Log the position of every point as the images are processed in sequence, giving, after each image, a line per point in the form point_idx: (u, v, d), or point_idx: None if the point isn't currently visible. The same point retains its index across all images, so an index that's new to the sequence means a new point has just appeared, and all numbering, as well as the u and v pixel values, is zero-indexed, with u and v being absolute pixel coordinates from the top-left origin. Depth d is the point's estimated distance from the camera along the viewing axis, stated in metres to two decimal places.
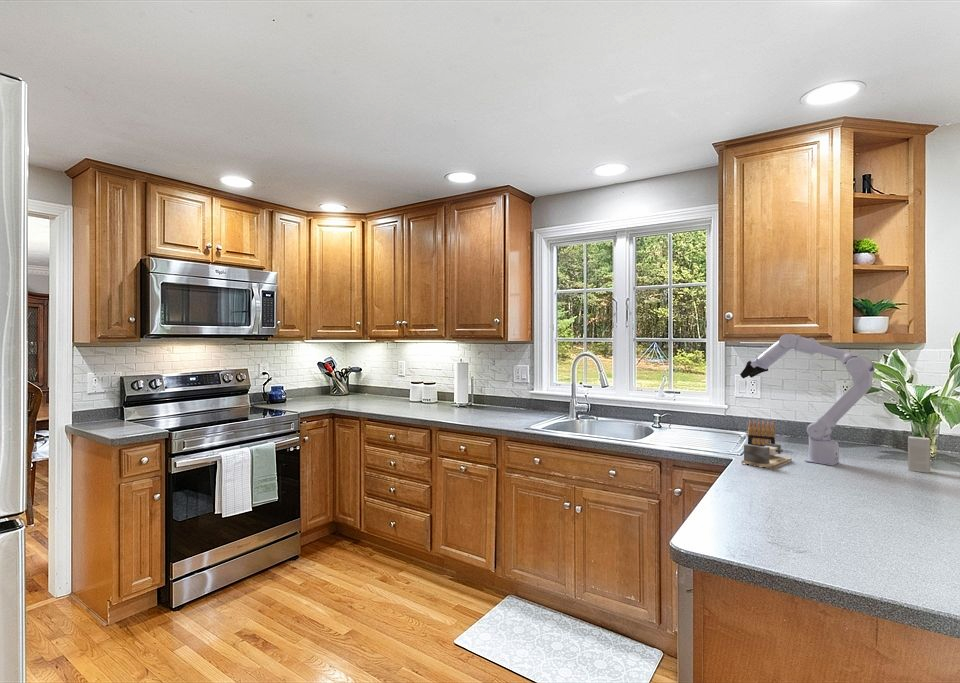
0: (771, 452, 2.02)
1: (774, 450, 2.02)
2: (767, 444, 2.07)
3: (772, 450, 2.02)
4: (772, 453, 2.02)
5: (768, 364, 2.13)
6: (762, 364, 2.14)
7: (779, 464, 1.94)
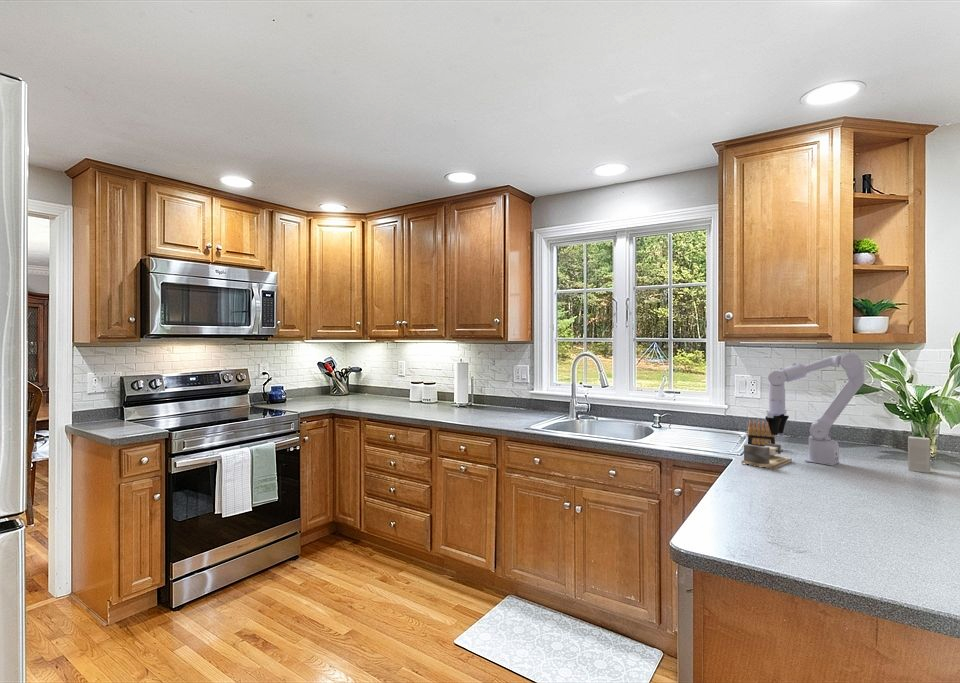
0: (771, 452, 2.02)
1: (774, 450, 2.02)
2: (767, 444, 2.07)
3: (772, 450, 2.02)
4: (772, 453, 2.02)
5: (782, 407, 2.06)
6: (777, 411, 2.07)
7: (779, 464, 1.94)
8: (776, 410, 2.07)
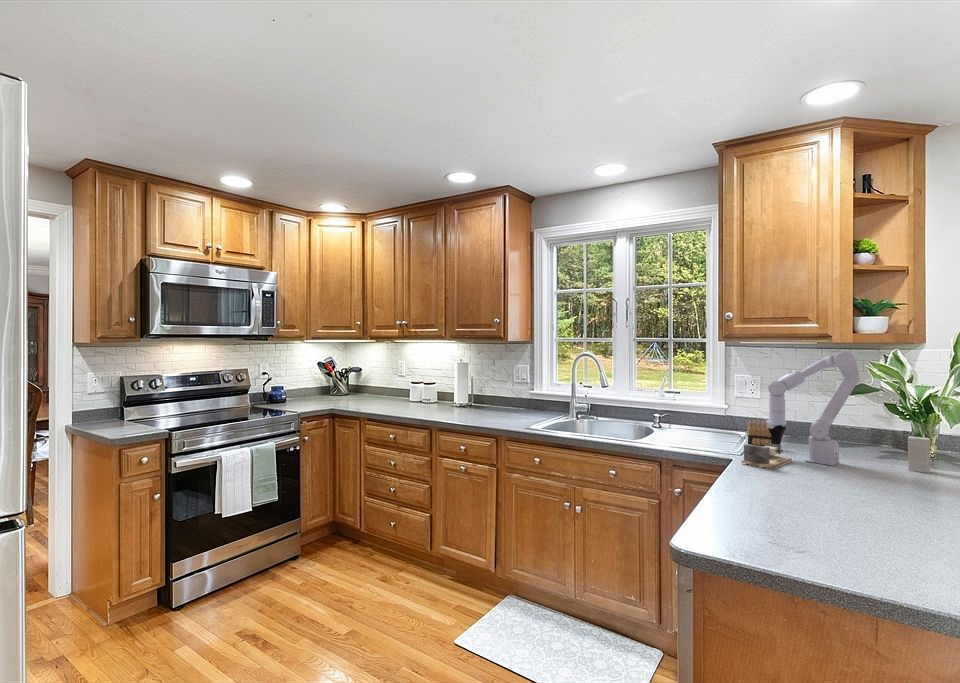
0: (771, 452, 2.02)
1: (774, 450, 2.02)
2: (767, 444, 2.07)
3: (772, 450, 2.02)
4: (772, 453, 2.02)
5: (782, 418, 2.06)
6: (777, 422, 2.07)
7: (779, 464, 1.94)
8: (776, 421, 2.07)
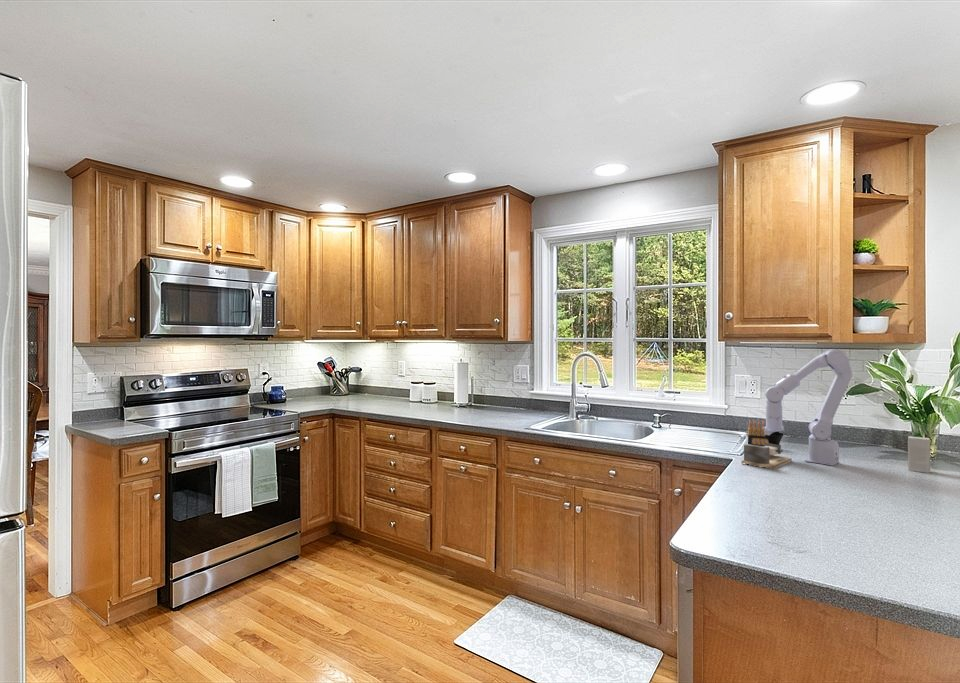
0: (771, 452, 2.02)
1: (774, 450, 2.02)
2: (767, 444, 2.07)
3: (772, 450, 2.02)
4: (772, 453, 2.02)
5: (779, 425, 2.04)
6: (774, 428, 2.05)
7: (779, 464, 1.94)
8: (773, 427, 2.05)
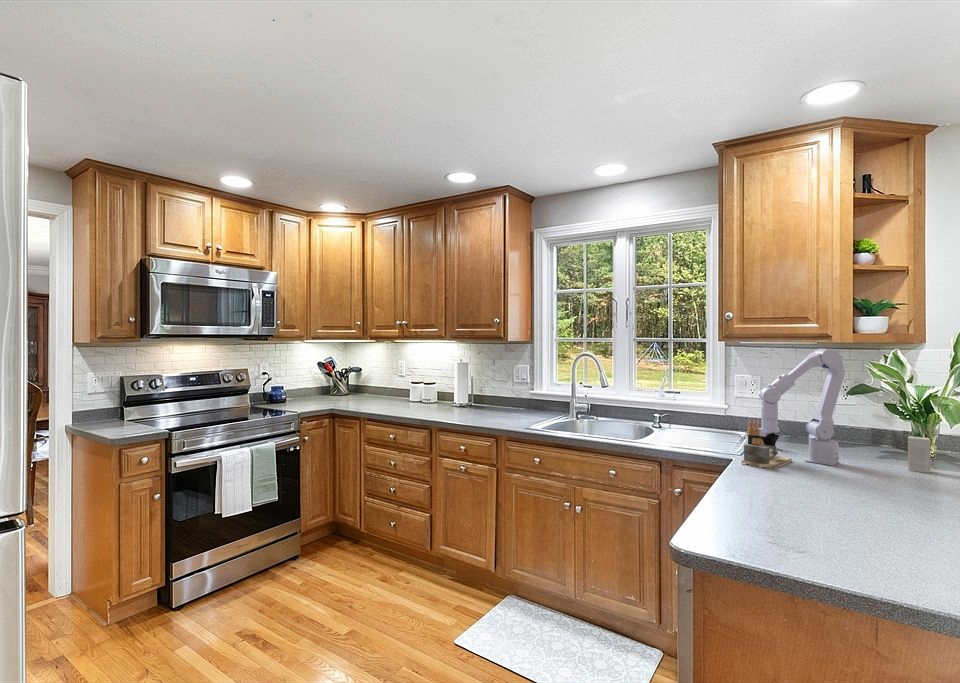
0: None
1: (769, 452, 1.99)
2: None
3: None
4: None
5: (774, 426, 2.01)
6: (770, 429, 2.02)
7: (779, 464, 1.94)
8: (769, 428, 2.02)
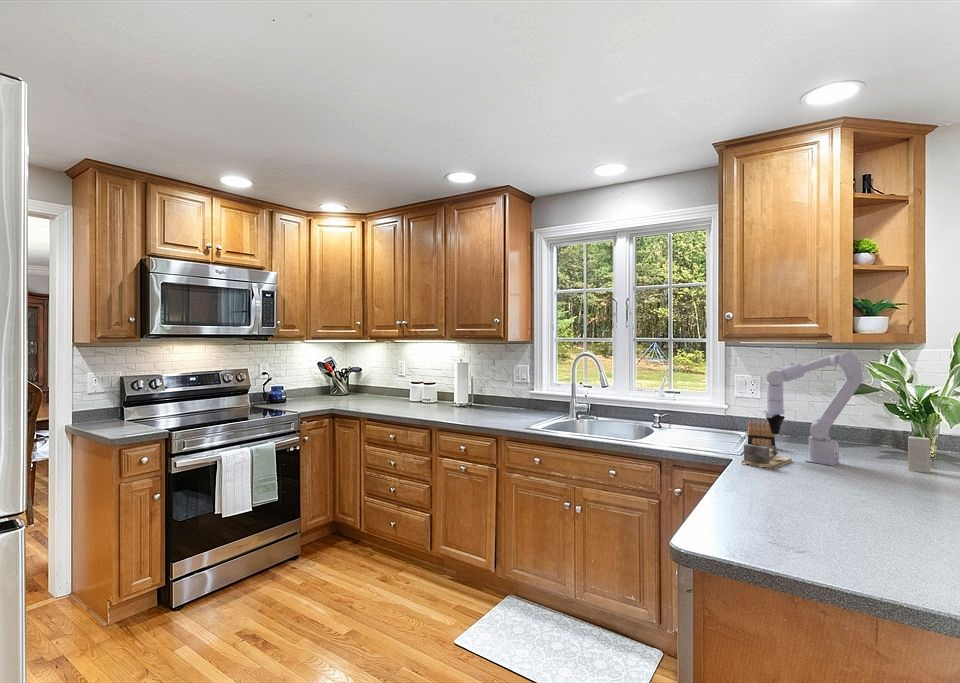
0: None
1: (769, 452, 1.99)
2: None
3: None
4: None
5: (780, 407, 2.06)
6: (775, 411, 2.07)
7: (779, 464, 1.94)
8: (774, 410, 2.07)
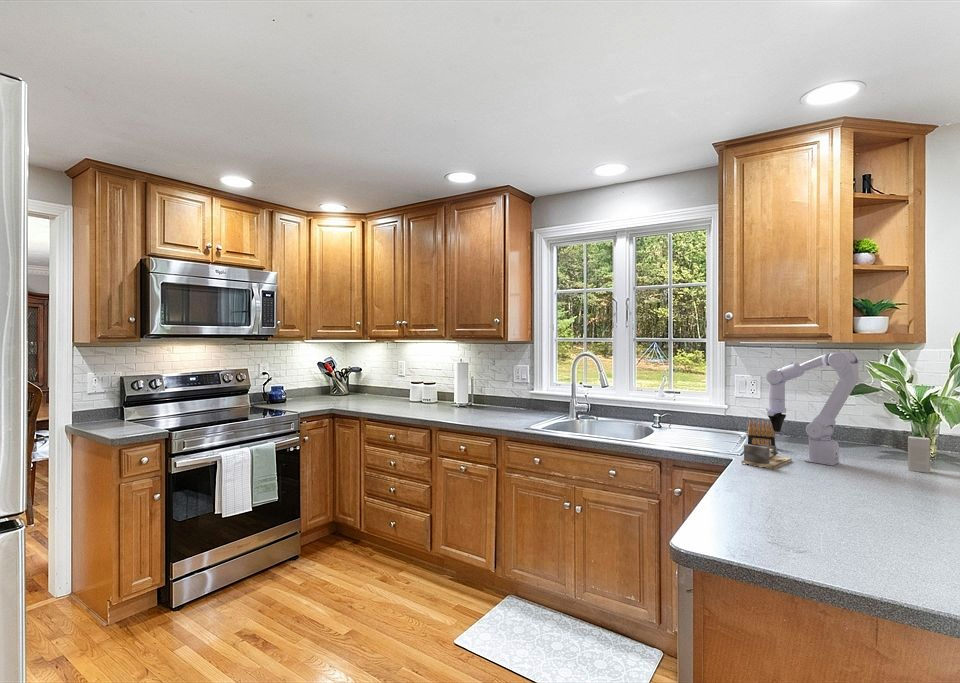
0: None
1: (769, 452, 1.99)
2: None
3: None
4: None
5: (781, 406, 2.11)
6: (777, 409, 2.12)
7: (779, 464, 1.94)
8: (776, 408, 2.12)
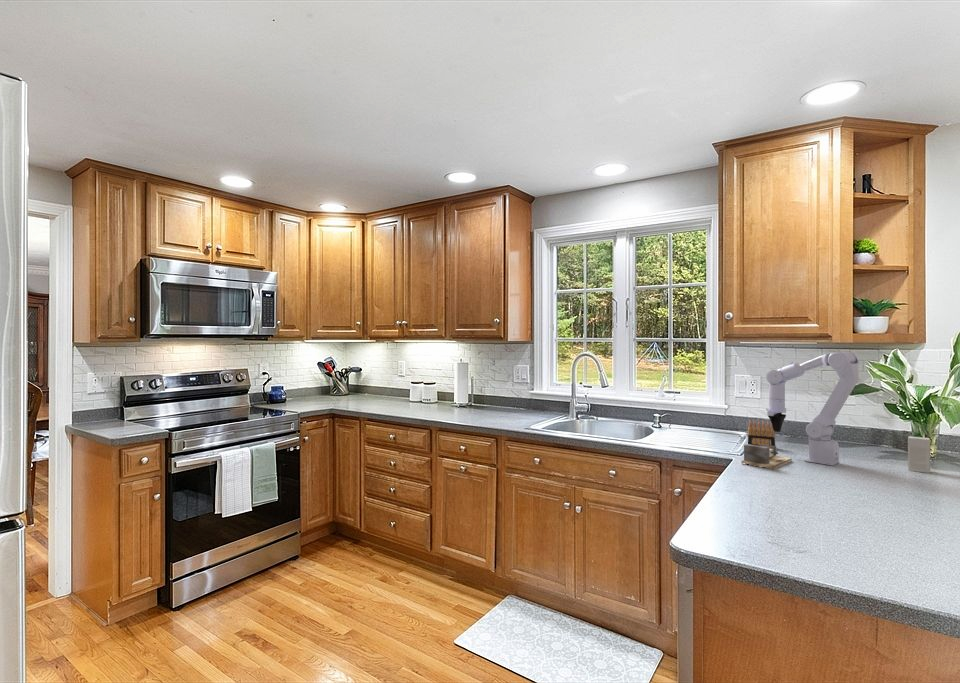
0: None
1: (769, 452, 1.99)
2: None
3: None
4: None
5: (781, 406, 2.11)
6: (777, 409, 2.12)
7: (779, 464, 1.94)
8: (776, 408, 2.12)
